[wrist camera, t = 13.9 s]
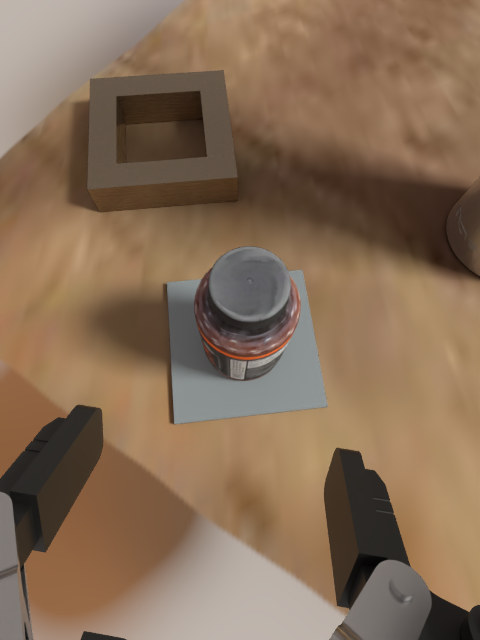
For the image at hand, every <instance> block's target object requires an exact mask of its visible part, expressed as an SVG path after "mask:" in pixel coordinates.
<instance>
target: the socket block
mask: <svg viewBox="0 0 480 640" xmlns="http://www.w3.org/2000/svg"><path fill="white" fill-rule="evenodd" d="M192 119H203V125H204V135H205V145H206V154H207V157H198V158H185V159H172V160H159V161H146V162H133V163H126V132H125V124H136V123H150V122H164V121H178V120H192ZM87 190H88V192H89V193H90V195H91V197H92V199H93V201H94V202H95V204H96V206H97V208H98V210H99V211H100V212H107V211H119V210H131V209H143V208H155V207H167V206H179V205H191V204H203V203H215V202H227V201H237V199H238V175H237V167H236V160H235V152H234V145H233V137H232V130H231V123H230V115H229V108H228V100H227V93H226V85H225V78H224V70H221V71H205V72H190V73H175V74H159V75H144V76H128V77H113V78H98V79H90V105H89V143H88V181H87Z"/></svg>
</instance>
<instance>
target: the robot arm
mask: <svg viewBox="0 0 480 640" xmlns="http://www.w3.org/2000/svg"><path fill="white" fill-rule="evenodd" d="M446 232H447V236H448V241H449V243H450V245H451V248H452V250H453V252H454V253H455V254H456V256H457V257H458V259H459V260H460V261H461V262H462V263H463V264H464V265H465V266H466V267H467V268H468V269H470V270H471V271H473V272H474V273H476V274H477V275H478V276H480V177H479V178H478V179H477V180H476V182H475V183H474V184H473V185H472V186H471V187H470V188H469V189H468V191H467V192H466V193H465V194H464V195H463V196H462V197H461V198H460V199H459V201H458V202H457V203H456V204H455V205H454V206H453V208H452V210H451V211H450V213H449V216H448V219H447V226H446ZM102 448H103V424H102V410H101V409H100V408H96V407H90V406H84V405H77V406H76V407H75V408H74V409H73V410H72V411H71V413H70V414H69V415H68V417H67V418H66V419H65V418H57V419H55V420H54V421H52V422H51V423H49V424H47V425H46V426H44V427H43V428H42V429H41V431H40V432H39V433H38V434H37V435H36V437H35V438H34V440H33V441H31V443H30V444H29V445H28V446H27V447H26V449H25V451H23V452H22V453H21V455H20V456H19V457H18V458H17V459H16V461H15V462H14V463H13V464H12V465H11V467H10V468H9V469H8V470H7V471H6V472H5V474H4V475H3V476H2V477H1V479H0V640H33V634H32V626H31V617H30V609H29V599H28V590H27V580H26V571H25V565H24V563H25V561H26V560H27V558H28V556H29V555H30V553H31V551H32V550H35V551H41V552H46V551H47V549H48V547H49V546H50V544H51V542H52V540H53V539H54V537H55V535H56V533H57V532H58V530H59V528H60V526H61V525H62V523H63V521H64V519H65V517H66V516H67V514H68V512H69V511H70V509H71V507H72V506H73V504H74V502H75V500H76V498H77V497H78V495H79V493H80V492H81V490H82V488H83V486H84V485H85V483H86V481H87V479H88V478H89V476H90V474H91V472H92V471H93V469H94V467H95V466H96V464H97V462H98V460H99V458H100V455H101V452H102ZM324 502H325V510H326V518H327V527H328V535H329V543H330V551H331V559H332V567H333V576H334V584H335V592H336V600H337V606H340V607H346V608H349V609H350V611H349V613H348V614H347V616H346V618H345V619H344V621H343V622H342V624H341V625H339V626H338V627H337V629H336V630H335V632H334V633H333V635H332V637H331V638H330V639H329V640H480V605H477V606H475V607H473V608H472V609H471V611H470V612H468V611H466V610H464V609H462V608H460V607H458V606H456V605H454V604H452V603H450V602H448V601H446V600H444V599H442V598H440V597H438V596H437V595H435V594H434V593H432V592H431V591H430V590H429V589H428V587H427V585H426V583H425V582H424V580H423V579H422V578H421V576H420V575H419V574H418V573H417V572H416V571H415V570H413V569H412V568H411V566H410V563H409V561H408V557H407V554H406V551H405V548H404V544H403V541H402V538H401V534H400V531H399V528H398V525H397V521H396V518H395V515H394V514H393V513H394V512H393V508H392V505H391V503H390V499H389V495H388V492H387V489H386V486H385V484H384V482H383V481H382V480H381V478H380V477H379V476H378V474H377V473H376V471H374V470H368V469H365V467H364V464H363V460H362V456H361V453H360V452H359V451H354V450H347V449H341V448H336V449H335V451H334V454H333V458H332V461H331V464H330V467H329V471H328V474H327V477H326V481H325V487H324ZM81 640H126V639H124V638H118V637H113V636H108V635H102V634H96V633H92V632H85V631H84V632H83V635H82V638H81Z"/></svg>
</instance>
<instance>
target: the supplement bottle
mask: <svg viewBox="0 0 480 640" xmlns="http://www.w3.org/2000/svg"><path fill="white" fill-rule="evenodd" d="M300 312H301V300H300V295H299V292H298V289H297V286H296V284H295V282H294V280H293V279H292V278H291V276H290V275H289V272H288V270H287V268H286V266H285V264H284V263H283V262H282V260H281V259H280V258H278V257H277V256H276V255H275V254H273V253H272V252H270V251H268V250H266V249H263V248H259V247H253V246H245V247H239V248H236V249H233V250H231V251H228V252H227V253H225V254H224V255H222V256H221V257H220V258H219V259H218V260H217V261H216V263H215V264H214V265H213V267H212V268H211V269H210V270H209V271H208V272H207V273H206V274H205V275H204V277H203V278H202V280H201V282H200V284H199V285H198V288H197V290H196V294H195V300H194V313H195V318H196V322H197V326H198V330H199V334H200V336H201V340H202V343H203V348H204V350H205V353H206V356H207V358H208V360H209V361H210V363H211V364H212V365H213V367H214V368H215V369H216V370H217V371H218V372H220V373H221V374H222V375H224V376H226V377H228V378H231V379H234V380H239V381H250V380H255V379H257V378H260V377H262V376H264V375H266V374H267V373H268V372H270V371H271V370H272V369H273V368H274V367H275V365H276V364H277V363H278V361H279V360H280V358H281V356H282V354H283V353H284V350H285V349H286V347H287V345H288V343H289V341H290V339H291V337H292V335H293V333H294V331H295V329H296V327H297V324H298V321H299V317H300Z"/></svg>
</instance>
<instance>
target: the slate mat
mask: <svg viewBox="0 0 480 640" xmlns="http://www.w3.org/2000/svg"><path fill="white" fill-rule="evenodd" d="M288 272H289V275H290V276H291V278H292V279H293V280H294V282H295V284H296V286H297V289H298V292H299V295H300V300H301V312H300V317H299V321H298V324H297V327H296V329H295V331H294V333H293V335H292V337H291V339H290V341H289V343H288V345H287V347H286V349H285V350H284V353H283V354H282V356H281V358H280V360H279V361H278V363H277V364H276V365H275V367H274V368H273V369H272V370H271V371H270V372H268V373H267V374H266V375H264V376H262V377H260V378H257V379H255V380H250V381H239V380H234V379H231V378H228V377H226V376H224V375H222V374H221V373H220V372H218V371H217V370H216V369H215V368H214V367H213V365H212V364H211V363H210V361H209V360H208V358H207V356H206V353H205V350H204V348H203V343H202V340H201V336H200V334H199V330H198V326H197V322H196V318H195V313H194V300H195V294H196V290H197V288H198V285H199V284H200V282H201V280H202V279H199V280H188V281H177V282H167V294H168V313H169V332H170V351H171V370H172V389H173V408H174V424H183V423H191V422H200V421H209V420H218V419H227V418H236V417H244V416H253V415H262V414H271V413H280V412H288V411H297V410H306V409H315V408H324V407H328V405H327V400H326V395H325V389H324V384H323V378H322V373H321V367H320V362H319V357H318V351H317V346H316V340H315V335H314V330H313V324H312V319H311V313H310V308H309V303H308V297H307V292H306V286H305V281H304V276H303V270H295V271H288Z"/></svg>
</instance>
